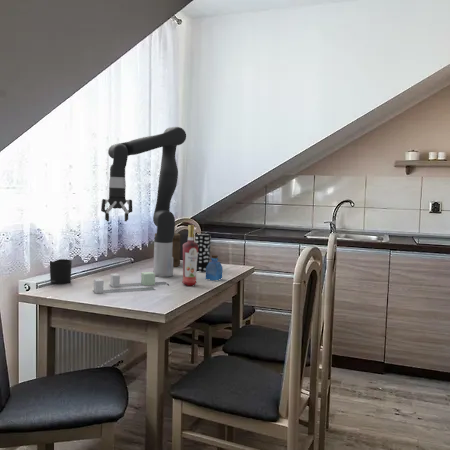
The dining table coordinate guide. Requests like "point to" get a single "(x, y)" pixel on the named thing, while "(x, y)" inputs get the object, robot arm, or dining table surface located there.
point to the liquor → (190, 259)
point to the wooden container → (175, 250)
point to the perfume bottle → (214, 269)
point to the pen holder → (60, 271)
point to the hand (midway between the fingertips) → (116, 221)
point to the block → (148, 278)
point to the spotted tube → (203, 251)
